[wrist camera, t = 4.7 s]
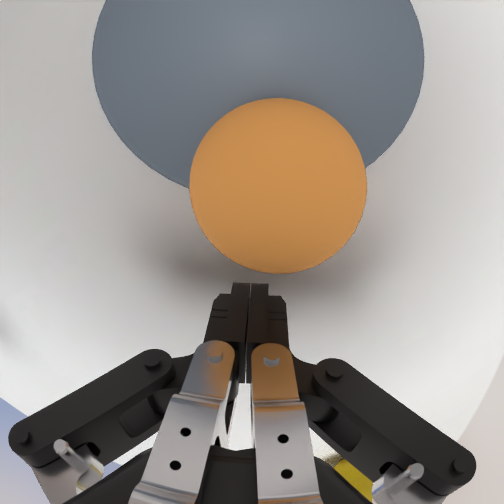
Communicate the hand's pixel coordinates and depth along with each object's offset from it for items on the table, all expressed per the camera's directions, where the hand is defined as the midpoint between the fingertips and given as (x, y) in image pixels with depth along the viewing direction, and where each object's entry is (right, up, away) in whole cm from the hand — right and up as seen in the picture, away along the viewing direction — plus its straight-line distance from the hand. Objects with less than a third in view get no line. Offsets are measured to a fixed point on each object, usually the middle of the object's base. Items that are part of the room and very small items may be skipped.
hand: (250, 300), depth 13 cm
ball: (+1, +4, -4) cm, 6 cm away
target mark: (0, +10, -4) cm, 11 cm away
